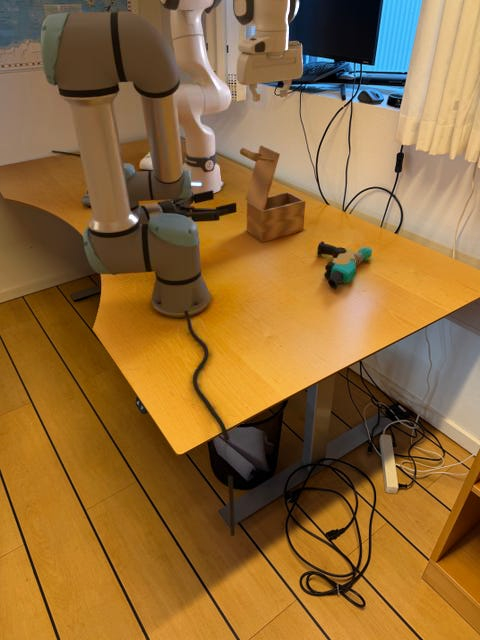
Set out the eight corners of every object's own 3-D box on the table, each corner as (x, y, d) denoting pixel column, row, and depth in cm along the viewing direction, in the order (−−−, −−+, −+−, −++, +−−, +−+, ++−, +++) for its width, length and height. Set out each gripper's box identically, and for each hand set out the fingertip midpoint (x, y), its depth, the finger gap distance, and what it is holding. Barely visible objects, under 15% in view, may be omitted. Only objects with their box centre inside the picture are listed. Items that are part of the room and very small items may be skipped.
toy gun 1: (138, 196, 186) (123, 211, 174) (94, 193, 189) (76, 208, 177) (137, 186, 184) (121, 201, 172) (92, 183, 187) (74, 198, 175)
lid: (262, 145, 146) (240, 141, 142) (280, 153, 140) (257, 149, 135) (247, 200, 154) (226, 197, 149) (263, 210, 147) (242, 207, 142)
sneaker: (133, 173, 208) (129, 144, 201) (161, 153, 230) (158, 127, 223) (155, 175, 205) (151, 146, 198) (180, 155, 227) (178, 129, 220)
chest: (286, 220, 167) (288, 191, 161) (303, 230, 160) (305, 200, 154) (246, 230, 160) (246, 201, 154) (262, 242, 153) (262, 211, 147)
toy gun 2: (295, 270, 129) (349, 283, 123) (327, 233, 148) (374, 243, 142) (294, 284, 132) (346, 297, 126) (325, 246, 150) (372, 256, 145)
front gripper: (144, 214, 146) (204, 201, 155) (180, 242, 129) (246, 225, 138) (141, 190, 142) (203, 178, 151) (178, 216, 124) (246, 200, 134)
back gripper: (295, 39, 133) (292, 92, 141) (232, 44, 124) (233, 101, 132) (309, 41, 128) (305, 96, 137) (246, 46, 120) (246, 105, 128)
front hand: (224, 200), depth 145 cm, fingers open, 13 cm apart
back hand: (270, 99), depth 134 cm, fingers open, 8 cm apart
